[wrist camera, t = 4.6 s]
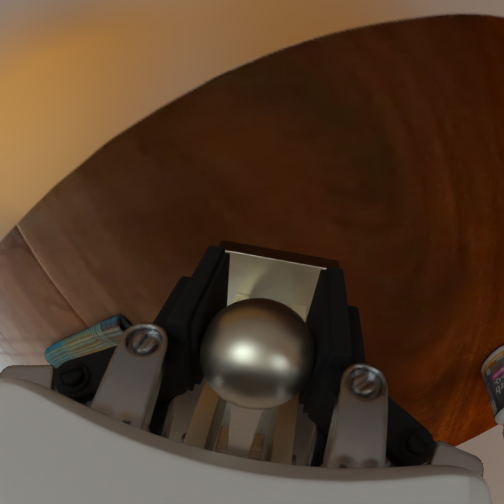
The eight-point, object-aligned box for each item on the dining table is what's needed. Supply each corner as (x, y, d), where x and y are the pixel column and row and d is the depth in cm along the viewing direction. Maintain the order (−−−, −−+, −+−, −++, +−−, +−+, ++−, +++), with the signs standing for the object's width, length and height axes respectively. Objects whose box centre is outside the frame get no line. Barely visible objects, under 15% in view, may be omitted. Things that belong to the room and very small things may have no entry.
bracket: (221, 240, 20) (125, 427, 8) (338, 260, 19) (348, 472, 7) (218, 344, 26) (169, 483, 14) (304, 360, 25) (286, 507, 13)
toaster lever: (218, 266, 9) (179, 343, 6) (326, 286, 8) (330, 373, 5) (214, 436, 14) (200, 481, 12) (267, 447, 14) (258, 493, 11)
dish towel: (47, 344, 35) (39, 354, 33) (118, 307, 26) (105, 325, 24) (120, 409, 41) (115, 420, 39) (221, 404, 32) (216, 421, 30)
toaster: (197, 346, 26) (142, 483, 14) (322, 369, 25) (310, 517, 13) (200, 383, 30) (159, 496, 18) (305, 403, 29) (289, 523, 17)
